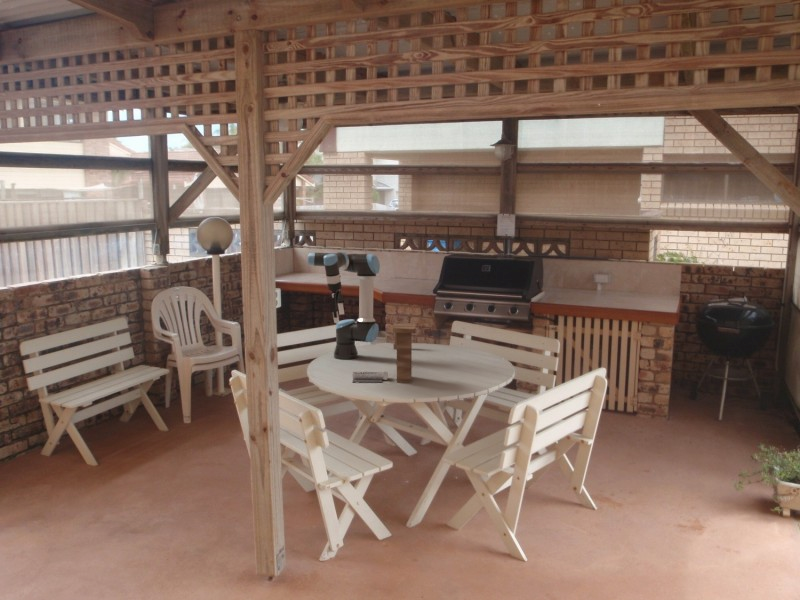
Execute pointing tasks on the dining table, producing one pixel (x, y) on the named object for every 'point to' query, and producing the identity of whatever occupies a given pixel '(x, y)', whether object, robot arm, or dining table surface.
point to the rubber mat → (367, 380)
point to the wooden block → (395, 338)
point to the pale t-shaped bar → (370, 375)
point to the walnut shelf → (404, 350)
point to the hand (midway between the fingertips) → (339, 318)
